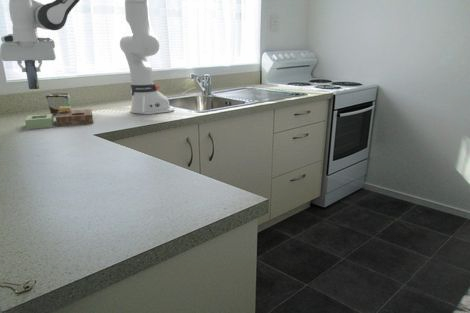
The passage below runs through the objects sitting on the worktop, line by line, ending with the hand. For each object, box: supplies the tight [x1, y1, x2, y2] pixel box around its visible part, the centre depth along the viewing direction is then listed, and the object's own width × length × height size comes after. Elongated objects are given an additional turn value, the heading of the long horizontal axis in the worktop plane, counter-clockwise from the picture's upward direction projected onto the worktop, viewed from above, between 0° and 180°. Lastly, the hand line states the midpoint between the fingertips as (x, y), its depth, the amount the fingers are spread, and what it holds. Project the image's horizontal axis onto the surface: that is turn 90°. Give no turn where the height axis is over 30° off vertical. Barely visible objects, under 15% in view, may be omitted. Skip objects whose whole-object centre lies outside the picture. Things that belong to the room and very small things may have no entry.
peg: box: [23, 60, 40, 90], centre depth 159 cm, size 4×4×12 cm
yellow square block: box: [59, 105, 72, 113], centre depth 175 cm, size 5×5×5 cm
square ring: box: [24, 113, 54, 130], centre depth 165 cm, size 10×10×4 cm
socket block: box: [55, 108, 94, 127], centre depth 173 cm, size 15×15×4 cm
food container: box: [45, 92, 71, 115], centre depth 192 cm, size 12×6×10 cm, turn 84°
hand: (31, 71), depth 159 cm, fingers closed on peg, 4 cm apart
